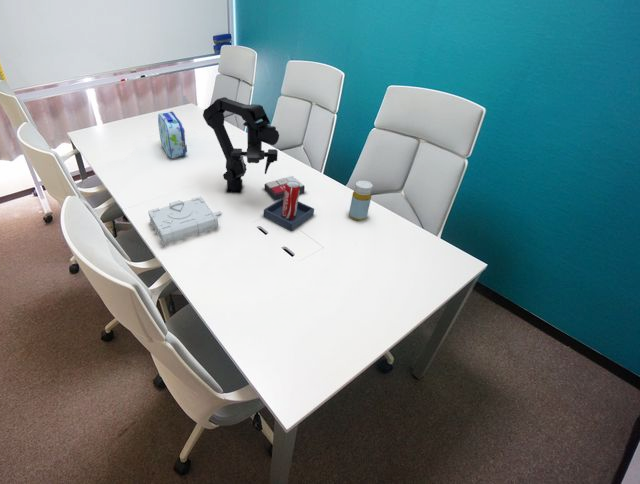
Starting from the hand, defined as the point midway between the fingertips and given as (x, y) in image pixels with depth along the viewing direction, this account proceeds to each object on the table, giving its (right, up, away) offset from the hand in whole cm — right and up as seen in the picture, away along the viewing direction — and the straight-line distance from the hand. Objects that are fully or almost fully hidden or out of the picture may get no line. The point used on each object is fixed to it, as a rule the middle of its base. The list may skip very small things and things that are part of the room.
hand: (254, 173), depth 146 cm
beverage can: (+14, -18, -5) cm, 24 cm away
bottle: (+42, -18, -5) cm, 46 cm away
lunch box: (-44, +19, +52) cm, 71 cm away
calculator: (+14, -7, +13) cm, 20 cm away
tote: (+14, -18, -4) cm, 23 cm away
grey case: (-26, -22, -7) cm, 35 cm away
